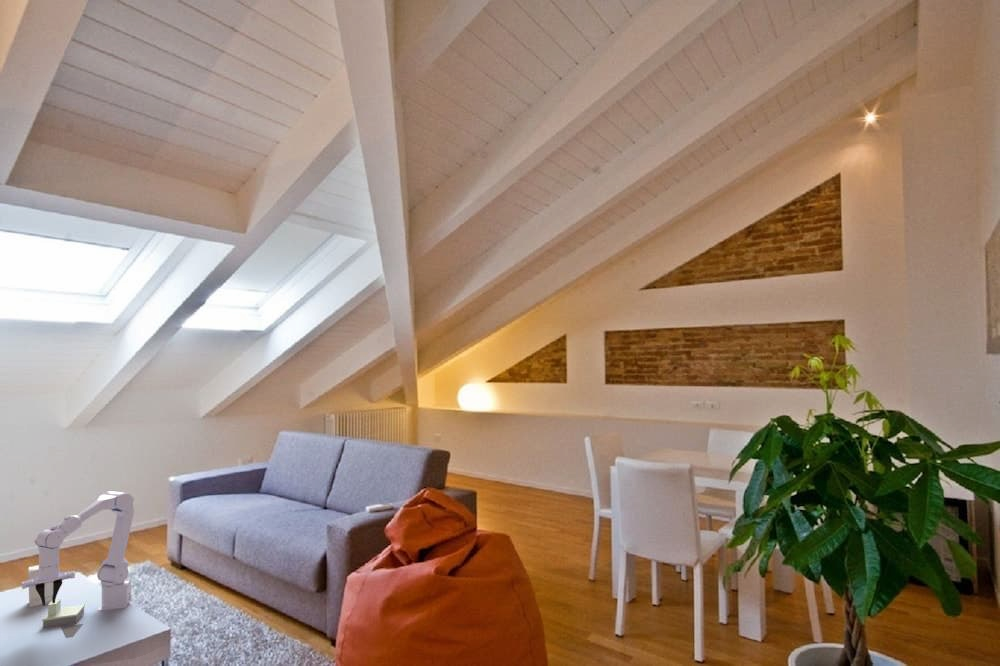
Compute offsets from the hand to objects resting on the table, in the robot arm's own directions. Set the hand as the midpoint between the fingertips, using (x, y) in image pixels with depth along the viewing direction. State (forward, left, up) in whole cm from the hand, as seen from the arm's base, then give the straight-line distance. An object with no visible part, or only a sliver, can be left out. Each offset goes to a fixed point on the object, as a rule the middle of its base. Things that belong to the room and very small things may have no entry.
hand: (48, 603), depth 199 cm
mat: (-3, +2, -11) cm, 11 cm away
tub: (-2, -8, -11) cm, 14 cm away
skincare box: (+12, -29, -11) cm, 34 cm away
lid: (-2, -8, -8) cm, 11 cm away
